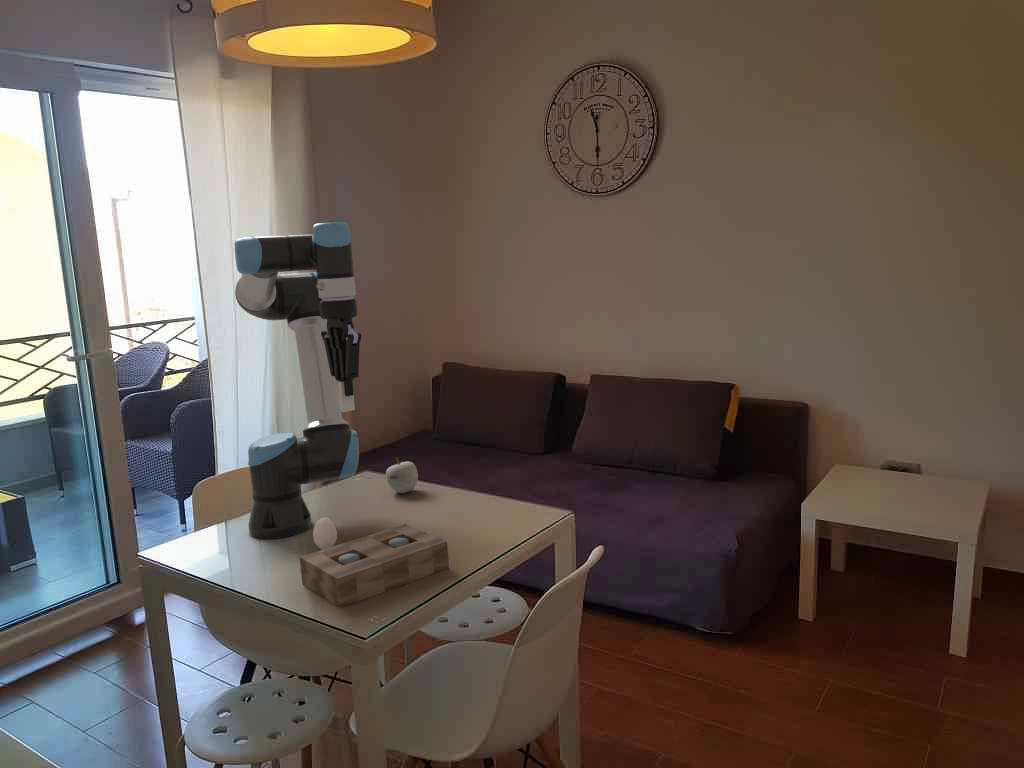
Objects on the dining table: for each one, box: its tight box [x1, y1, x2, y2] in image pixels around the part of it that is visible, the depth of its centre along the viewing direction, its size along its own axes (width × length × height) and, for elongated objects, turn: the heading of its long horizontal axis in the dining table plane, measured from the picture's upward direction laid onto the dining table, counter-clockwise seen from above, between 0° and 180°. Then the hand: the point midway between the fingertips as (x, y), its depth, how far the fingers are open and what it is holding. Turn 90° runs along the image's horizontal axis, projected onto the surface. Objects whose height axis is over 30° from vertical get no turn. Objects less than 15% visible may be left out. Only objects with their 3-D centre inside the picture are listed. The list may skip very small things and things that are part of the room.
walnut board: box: [299, 523, 450, 609], centre depth 172 cm, size 16×26×6 cm, turn 131°
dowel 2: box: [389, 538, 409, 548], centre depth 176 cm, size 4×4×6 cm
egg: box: [312, 517, 338, 550], centre depth 188 cm, size 5×5×8 cm
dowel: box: [339, 554, 360, 565], centre depth 168 cm, size 4×4×6 cm
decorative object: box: [385, 457, 419, 494], centre depth 228 cm, size 9×9×10 cm
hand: (347, 410), depth 173 cm, fingers closed
